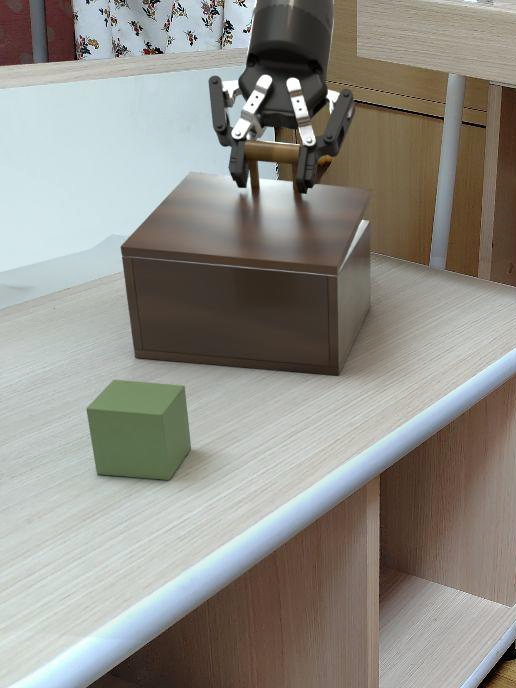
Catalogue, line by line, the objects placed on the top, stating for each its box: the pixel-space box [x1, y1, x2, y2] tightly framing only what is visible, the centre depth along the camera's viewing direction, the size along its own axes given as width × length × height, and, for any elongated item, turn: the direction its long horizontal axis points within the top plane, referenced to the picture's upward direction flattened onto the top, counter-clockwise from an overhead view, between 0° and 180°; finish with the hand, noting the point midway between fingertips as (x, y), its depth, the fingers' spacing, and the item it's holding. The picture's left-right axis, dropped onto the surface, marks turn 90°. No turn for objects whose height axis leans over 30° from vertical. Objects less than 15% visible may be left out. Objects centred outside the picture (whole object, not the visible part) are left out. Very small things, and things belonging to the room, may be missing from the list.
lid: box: [120, 139, 373, 276], centre depth 87 cm, size 20×18×5 cm
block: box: [85, 379, 192, 481], centre depth 69 cm, size 5×5×5 cm
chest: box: [121, 219, 371, 376], centre depth 91 cm, size 19×18×9 cm
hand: (270, 185), depth 92 cm, fingers closed on lid, 5 cm apart
